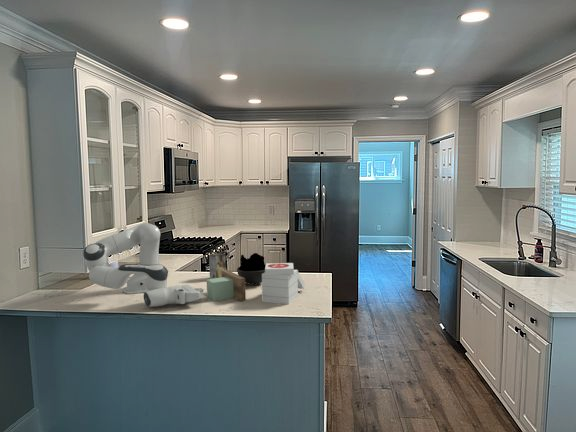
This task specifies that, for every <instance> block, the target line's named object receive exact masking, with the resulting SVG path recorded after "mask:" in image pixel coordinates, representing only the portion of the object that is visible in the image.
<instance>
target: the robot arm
mask: <svg viewBox="0 0 576 432" xmlns="http://www.w3.org/2000/svg"><path fill="white" fill-rule="evenodd" d="M160 238H161V230H160V228H159V227H158V226H157V225H155V224H152V223H149V222H142V223H140V224H136V225H135V226H132V227H129V228H127V229H126V230H123V231H119V232H117V233H114V234H111V235H108V236H106V237H103V238H100V239H99V240H97V241H95V242H94V243H91V244H89V245H87V246H85V247H84V249H83V252H82V253H83V259H84V263H85V266H86V267H87V270H88V279H89V281H90V282H91V283H93V284H96V285H97V286H101V287H103V288H107V289H112V290H118V289H121V288H122V287H123V288H122V292H123V293H124V294H127V295H130V294H131V295H132V294H133V295H134V294H140V293H141V294H142V293H143V301H144V304H145V305H146V306H147V307H150V308H151V307H152V308H153V307H162V306H166V305H169V304H170V305H172V304H173V305H174V304H181V305H184V304H186V303H190V302H195V301H198V300H200V299H201V293H204V289H203V288H202V287H199V288H197V287H192V285H191V286H190V285H189V284H183V285H173V286H169V287H167V283H168V280H167V279H168V275H169V270H168V269H167V267H166V266H164V265H163V264H160V256H159V255H160V253H159V251H160V250H159V249H160V240H161V239H160ZM138 245H139V251H138V255H139V257H138V258H139V261H138V262H139V263H138V264H137V263H136V264H135V263H124V264H120V265H119V266H118V268H115V267H110V266H109V263H108V257H109V256H110V255H113V256H114V255H117V254H119V253H124V252H126V251H129V250H131V249H134V248H135V247H137V246H138ZM129 277H130V278H129ZM126 282H127V283H126ZM125 285H126V286H125ZM124 286H125V287H124Z"/></svg>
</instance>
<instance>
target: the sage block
mask: <svg viewBox="0 0 576 432" xmlns="http://www.w3.org/2000/svg"><path fill="white" fill-rule="evenodd" d="M206 297H207V299H209V300H210V301H212V302H217V301H222V300H226V299H228V300H229V299H234V286H233V279H231V278H229V277H221V278H214V279H210V278H207V279H206Z"/></svg>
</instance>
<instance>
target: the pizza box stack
mask: <svg viewBox="0 0 576 432" xmlns="http://www.w3.org/2000/svg"><path fill="white" fill-rule="evenodd" d="M265 265H266V267H265V273H263V274H262V282H261V299H262V301H261V302H264V303H273V304H283V305H284V304H286V305H290V304H291V303H292V302H294V300H295V299H297V298H298V297H299V289H302V290H304V289H305V286H306V283H305V280H303V277H302V276H301V274H300V272H299V270H298V269H294V262H275V263H270V262H269V263H268V262H267V263H265Z"/></svg>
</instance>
